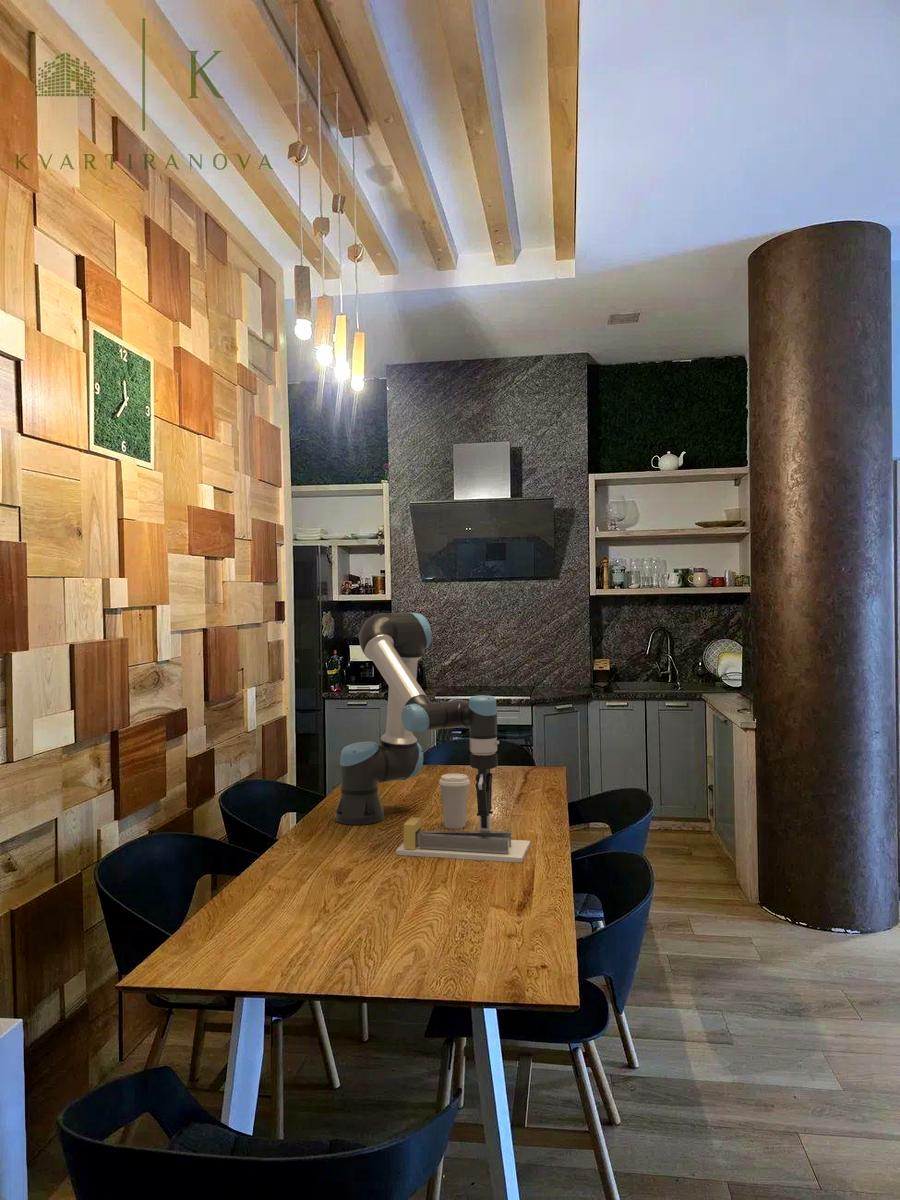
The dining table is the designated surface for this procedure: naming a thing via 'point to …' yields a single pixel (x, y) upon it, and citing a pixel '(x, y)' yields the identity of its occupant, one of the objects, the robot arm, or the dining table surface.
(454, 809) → the coffee cup
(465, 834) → the tongs jaw
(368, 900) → the dining table surface
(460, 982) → the dining table surface
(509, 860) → the board
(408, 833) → the tan boxy piece
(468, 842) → the tongs fixed
